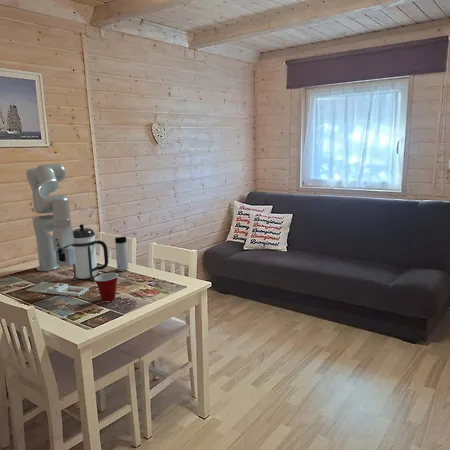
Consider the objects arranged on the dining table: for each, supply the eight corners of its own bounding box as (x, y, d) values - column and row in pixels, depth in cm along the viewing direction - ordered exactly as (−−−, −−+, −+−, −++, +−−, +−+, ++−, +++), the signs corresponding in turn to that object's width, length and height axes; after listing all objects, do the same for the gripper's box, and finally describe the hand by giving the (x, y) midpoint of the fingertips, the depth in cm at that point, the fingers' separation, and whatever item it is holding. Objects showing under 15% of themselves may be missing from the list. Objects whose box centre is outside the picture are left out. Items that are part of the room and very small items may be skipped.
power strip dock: (58, 287, 204) (57, 281, 203) (88, 290, 199) (88, 285, 198) (47, 293, 196) (46, 287, 196) (78, 296, 191) (78, 290, 191)
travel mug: (118, 272, 227) (116, 238, 223) (116, 269, 232) (113, 235, 228) (129, 270, 229) (127, 236, 225) (126, 267, 235) (124, 234, 231)
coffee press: (78, 285, 207) (73, 228, 201) (67, 278, 218) (62, 224, 212) (110, 277, 218) (106, 224, 212) (97, 271, 230) (93, 220, 224)
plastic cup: (100, 295, 192) (98, 271, 190) (122, 295, 192) (121, 271, 189) (92, 304, 182) (90, 279, 179) (116, 304, 181) (114, 279, 179)
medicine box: (76, 263, 196) (74, 246, 194) (69, 266, 192) (68, 248, 190) (62, 262, 198) (61, 245, 197) (56, 264, 194) (54, 247, 192)
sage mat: (43, 282, 211) (42, 281, 211) (62, 284, 208) (62, 283, 208) (25, 290, 200) (25, 289, 200) (45, 293, 197) (45, 292, 197)
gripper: (67, 219, 200) (70, 254, 204) (43, 226, 184) (47, 264, 188) (80, 220, 198) (83, 255, 202) (57, 227, 182) (60, 265, 186)
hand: (65, 259), depth 195 cm, fingers closed on medicine box, 4 cm apart
